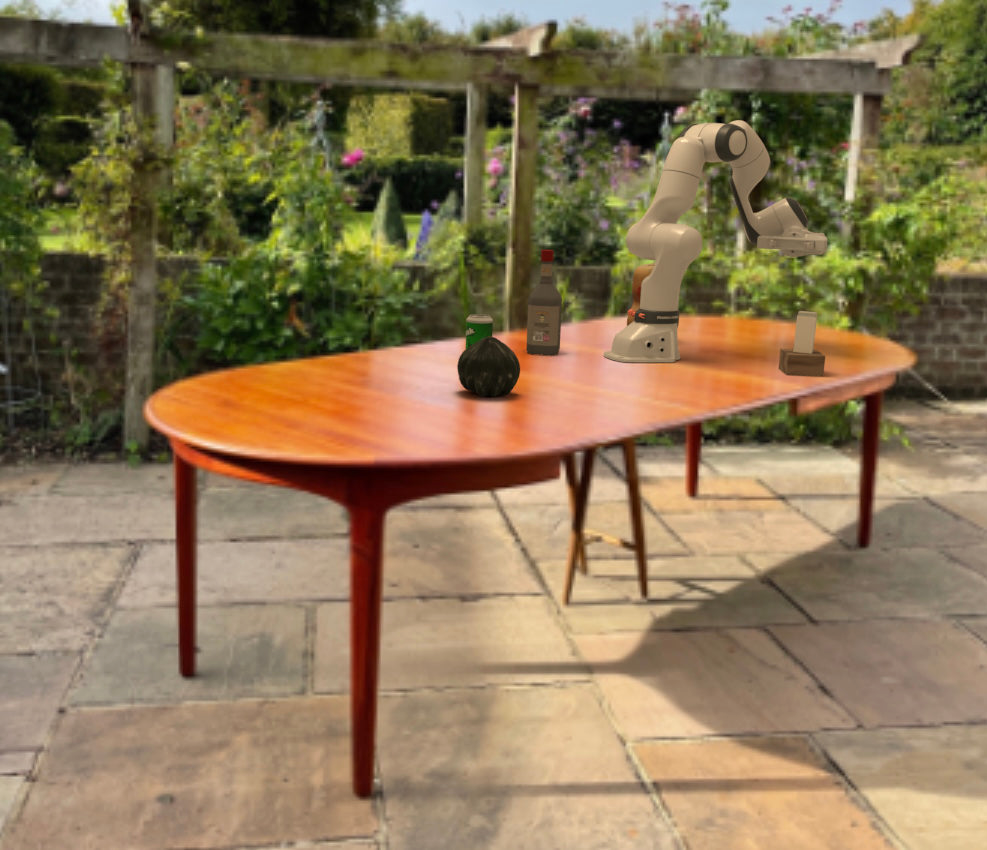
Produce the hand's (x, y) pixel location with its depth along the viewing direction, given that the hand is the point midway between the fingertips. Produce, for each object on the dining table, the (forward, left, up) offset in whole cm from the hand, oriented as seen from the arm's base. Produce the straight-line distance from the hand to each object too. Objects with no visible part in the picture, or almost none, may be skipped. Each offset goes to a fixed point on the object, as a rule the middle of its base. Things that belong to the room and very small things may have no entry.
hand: (789, 244), depth 319 cm
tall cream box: (-8, -22, -28) cm, 36 cm away
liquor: (-67, +23, -34) cm, 79 cm away
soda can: (-89, +19, -34) cm, 97 cm away
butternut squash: (-25, +35, -34) cm, 55 cm away
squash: (-105, -29, -34) cm, 114 cm away
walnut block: (-9, -22, -34) cm, 41 cm away
